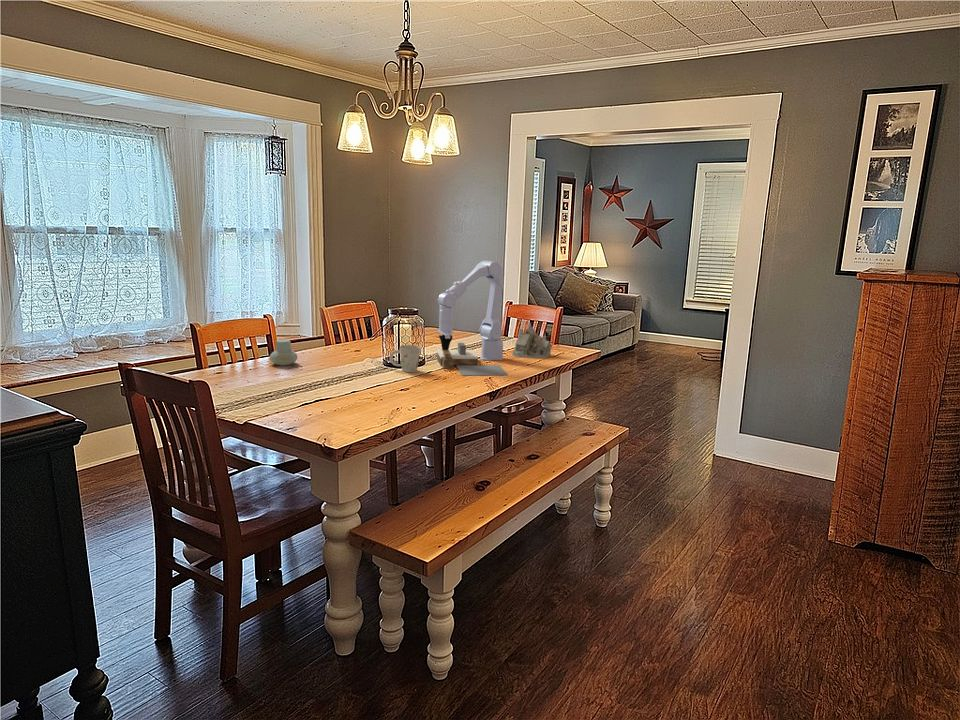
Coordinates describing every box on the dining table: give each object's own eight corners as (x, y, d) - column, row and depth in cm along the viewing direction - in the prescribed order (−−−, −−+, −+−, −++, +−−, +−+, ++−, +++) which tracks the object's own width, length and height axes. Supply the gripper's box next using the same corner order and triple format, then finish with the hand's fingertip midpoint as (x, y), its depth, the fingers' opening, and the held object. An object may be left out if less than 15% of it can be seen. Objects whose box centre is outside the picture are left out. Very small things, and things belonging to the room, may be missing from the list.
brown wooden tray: (472, 358, 288) (472, 349, 287) (480, 368, 269) (480, 359, 268) (436, 358, 285) (437, 350, 284) (442, 368, 266) (442, 359, 265)
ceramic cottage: (507, 353, 300) (511, 322, 297) (530, 351, 312) (534, 321, 308) (531, 362, 290) (535, 330, 286) (554, 359, 301) (559, 328, 297)
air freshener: (297, 361, 270) (296, 338, 268) (298, 366, 262) (297, 342, 260) (270, 362, 266) (269, 339, 264) (270, 367, 259) (269, 342, 257)
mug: (418, 373, 257) (419, 349, 255) (387, 372, 257) (387, 348, 255) (420, 368, 265) (421, 345, 263) (390, 367, 265) (391, 344, 263)
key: (448, 354, 276) (448, 349, 275) (450, 358, 268) (450, 353, 268) (442, 354, 275) (442, 349, 275) (445, 358, 268) (445, 353, 267)
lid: (472, 353, 288) (472, 341, 286) (477, 360, 274) (478, 347, 273) (437, 353, 285) (437, 341, 283) (440, 360, 271) (441, 347, 270)
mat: (499, 365, 276) (499, 365, 276) (508, 375, 260) (508, 374, 260) (456, 366, 272) (456, 365, 272) (462, 375, 256) (462, 374, 256)
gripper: (434, 318, 279) (434, 348, 282) (438, 323, 266) (438, 355, 269) (450, 318, 281) (449, 348, 284) (455, 323, 267) (454, 355, 270)
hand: (445, 352), depth 276 cm, fingers closed
